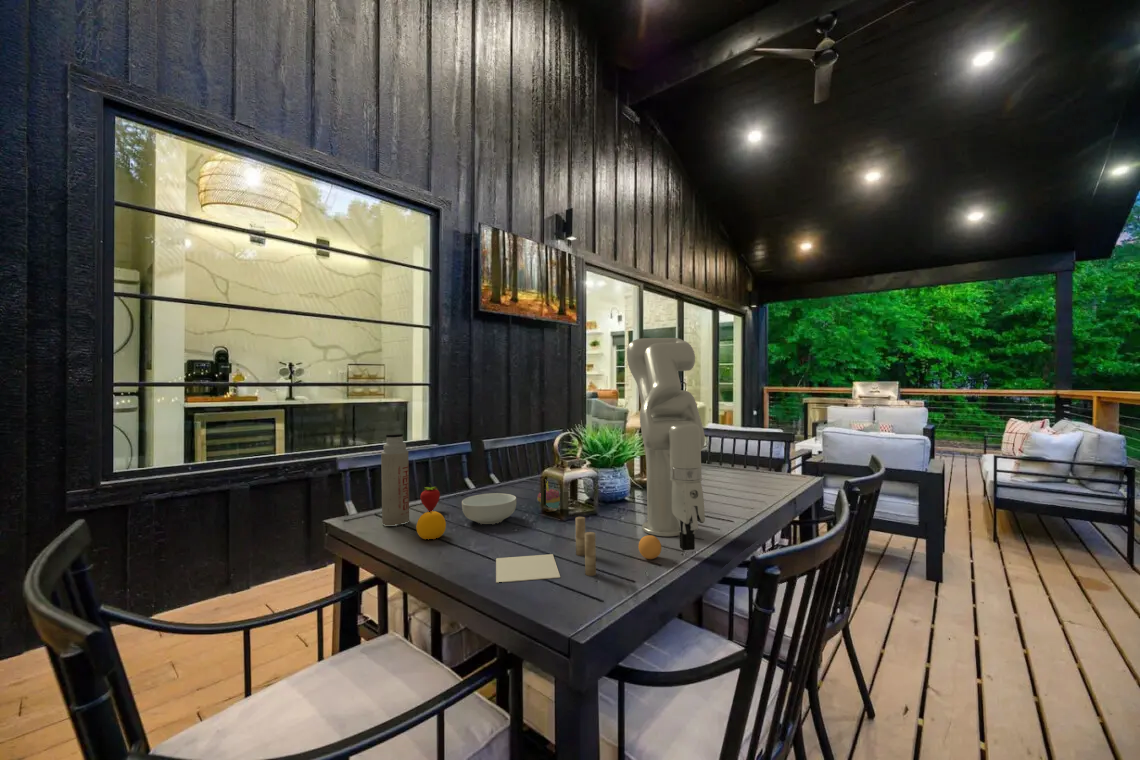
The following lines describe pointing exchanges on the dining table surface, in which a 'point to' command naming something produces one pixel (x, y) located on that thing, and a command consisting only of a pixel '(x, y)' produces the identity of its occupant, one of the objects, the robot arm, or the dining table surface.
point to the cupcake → (551, 497)
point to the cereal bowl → (489, 507)
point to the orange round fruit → (431, 525)
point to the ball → (650, 547)
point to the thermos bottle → (395, 481)
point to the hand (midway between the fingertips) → (687, 548)
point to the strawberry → (430, 497)
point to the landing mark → (526, 568)
